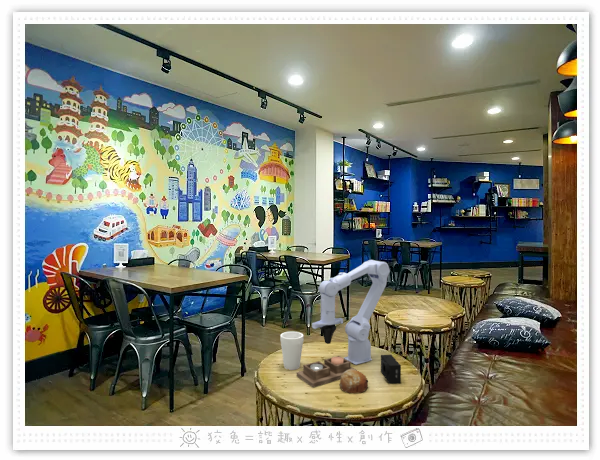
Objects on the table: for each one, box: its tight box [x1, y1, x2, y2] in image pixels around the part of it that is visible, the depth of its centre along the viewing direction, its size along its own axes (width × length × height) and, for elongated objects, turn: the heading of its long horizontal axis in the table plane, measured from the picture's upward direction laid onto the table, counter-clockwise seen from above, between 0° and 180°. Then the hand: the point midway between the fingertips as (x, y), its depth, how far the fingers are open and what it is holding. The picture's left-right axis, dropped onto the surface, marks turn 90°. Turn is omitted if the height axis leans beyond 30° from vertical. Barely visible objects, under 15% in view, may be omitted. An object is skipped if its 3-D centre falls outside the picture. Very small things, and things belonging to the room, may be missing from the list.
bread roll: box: [338, 369, 369, 394], centre depth 127 cm, size 10×10×8 cm
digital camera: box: [380, 354, 402, 385], centre depth 135 cm, size 10×5×7 cm, turn 5°
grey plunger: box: [310, 364, 323, 371], centre depth 134 cm, size 5×5×3 cm
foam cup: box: [279, 331, 305, 371], centre depth 144 cm, size 10×9×13 cm
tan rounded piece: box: [330, 356, 344, 365], centre depth 139 cm, size 5×5×3 cm
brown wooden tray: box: [296, 355, 358, 389], centre depth 137 cm, size 21×11×4 cm, turn 123°
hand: (327, 343), depth 145 cm, fingers closed
